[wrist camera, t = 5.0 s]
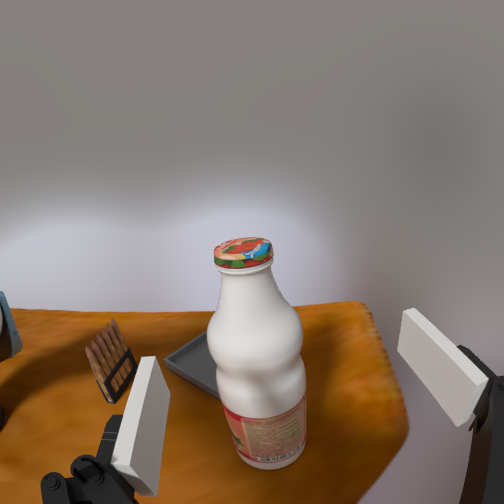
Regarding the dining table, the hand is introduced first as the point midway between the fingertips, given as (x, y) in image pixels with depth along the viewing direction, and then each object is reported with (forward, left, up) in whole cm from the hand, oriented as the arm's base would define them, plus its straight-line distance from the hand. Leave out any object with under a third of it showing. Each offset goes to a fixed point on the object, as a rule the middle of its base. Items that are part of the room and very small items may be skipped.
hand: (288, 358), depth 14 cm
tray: (-28, +18, -26) cm, 42 cm away
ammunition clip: (-38, +2, -26) cm, 46 cm away
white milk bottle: (-9, +8, -26) cm, 28 cm away
